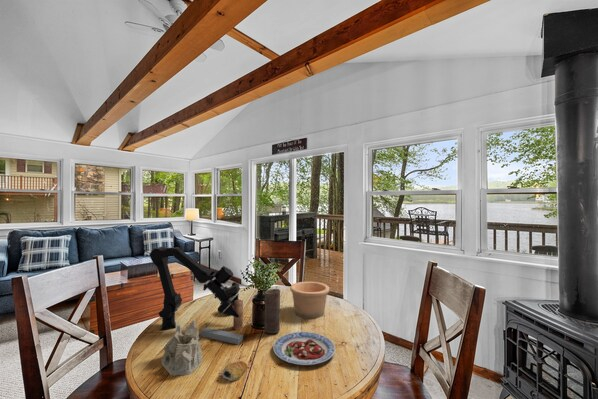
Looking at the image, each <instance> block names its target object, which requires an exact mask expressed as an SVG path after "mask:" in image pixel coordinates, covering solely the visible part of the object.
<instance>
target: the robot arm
mask: <svg viewBox="0 0 598 399" xmlns="http://www.w3.org/2000/svg"><path fill="white" fill-rule="evenodd" d="M169 257H170V258H171V257H173V258H175V259H176V260H177V261H178V262H180V263H181V264H182V265H183V266H185V267H186V268H187V269H188V270H189V271H190V272H191V273H192V275H193V277H194V278H195V279H196V281H197V282H198V283H200V284H203V289H202V291H204V292H205V291H206V290H207V289H208V290H209V291H210V292H211V294H213V295H214V299H216V300H218V301H220V305H219V306H218V307H217V312H218V313H219V314H222V315H223V314H225V315H229V316H231V317H233V316H234V317H237V318H238V317H239V315H238V313H237V312H236V310H235V309H234V308H233V306H234V301H235V300H240V299H239V296H240V293H239V292H240V290H241V288H240V287H241V286H240V284H239V282H236V281H234V282H232V283H231V285H230V286H229V287H228V286H227V285H225V284H226V283H227V282H229V280H231V278H232V277H233V276H234V271H232V269H230V268H229V267H227V266H225V265H223V266H222V267H221V268H220V269H219V270H218V271H213V270H211V269H210V268H208V267H206V266H204V265H202V264H200V263H198V262H197V261H196V260H194V259H193V257H191V256H189V255H188V254H187V253H186V252H185V251H184V250H182V248H181V247H178V246H176V247H166V246H158V247H156V248H152V249H151V250H150V252H149V258H150V260H151V262H152V263H153V264H154V265H155V266H156V268H157V272H158V276H159V280H160V284H161V287H162V290H163V295H164V297H163V308H162V309H161V310H160V311H159V312H158V316H159V318H161V321H162V322H161V324H160V331H163V330H171V329H176V328H177V322H176V312H177V311H178V310H179V308H180V307H181V306H182V301H183V299H182V296H181V293H180V292H179V293H177V292H176V291H175V287H174V284H173V280H172V277H171V271H170V268H169V264H168V262H169ZM223 284H224V285H223Z"/></svg>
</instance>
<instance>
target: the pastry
mask: <svg viewBox="0 0 598 399" xmlns="http://www.w3.org/2000/svg"><path fill="white" fill-rule="evenodd" d="M247 369H248V365H247V363H246V362H245V361H234V362H232V363H231V362H230V363H229V364H228V365H226V366H224V368H223V370H222V371H221V377H222V378H223V379H224V378H225V379H224V380H227V381H231V382H234V381H238V380H239V379H240V378H242V377H243V376H244V374H245V373H246V372H247Z"/></svg>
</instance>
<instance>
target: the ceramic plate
mask: <svg viewBox="0 0 598 399" xmlns="http://www.w3.org/2000/svg"><path fill="white" fill-rule="evenodd" d="M272 348H273V352H274V353H275V355H276V356H277V357H278V358H279V359H281V360H282V361H285V362H287V363H289V364H293V365H294V364H295V365H300V366H313V365H318V364H321V363H322V364H323V363H325V362H327V361H328V360H330V359H332V357H333V356H334V355H335V352H336V346H335V343H334V342H333V341H332V340H331V339H330V338H329V337H326V336H325V335H322V334H320V333H316V332H311V331H295V332H290V333H287V334H283V335H282V336H280V337H279V338H277V339H276V341H275V342H274V343H273V347H272Z"/></svg>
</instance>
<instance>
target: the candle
mask: <svg viewBox="0 0 598 399" xmlns="http://www.w3.org/2000/svg"><path fill="white" fill-rule="evenodd" d="M280 314H281V290H280V289H279V288H269V289H266V291H265V292H264V326H263V327H264V328H263V329H264V332H265V333H267V334H276V333H279V332H280V329H281V315H280Z"/></svg>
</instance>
